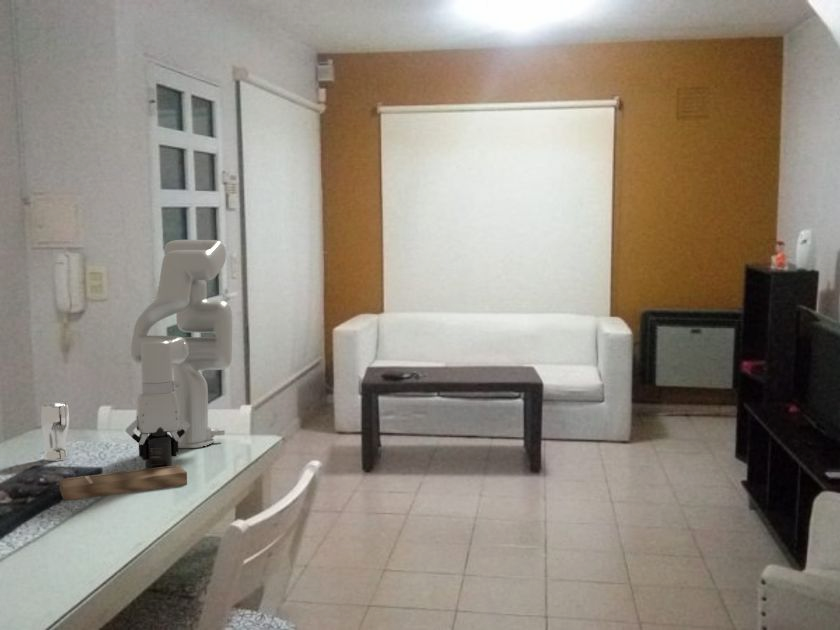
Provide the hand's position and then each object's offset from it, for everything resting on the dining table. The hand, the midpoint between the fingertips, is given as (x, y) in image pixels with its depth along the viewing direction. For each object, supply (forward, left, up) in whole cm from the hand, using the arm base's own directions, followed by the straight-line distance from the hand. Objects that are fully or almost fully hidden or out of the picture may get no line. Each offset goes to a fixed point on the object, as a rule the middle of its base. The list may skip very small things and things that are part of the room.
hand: (158, 456), depth 216 cm
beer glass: (+21, -29, -5) cm, 36 cm away
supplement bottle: (0, 0, -4) cm, 4 cm away
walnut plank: (+10, +9, -5) cm, 14 cm away
